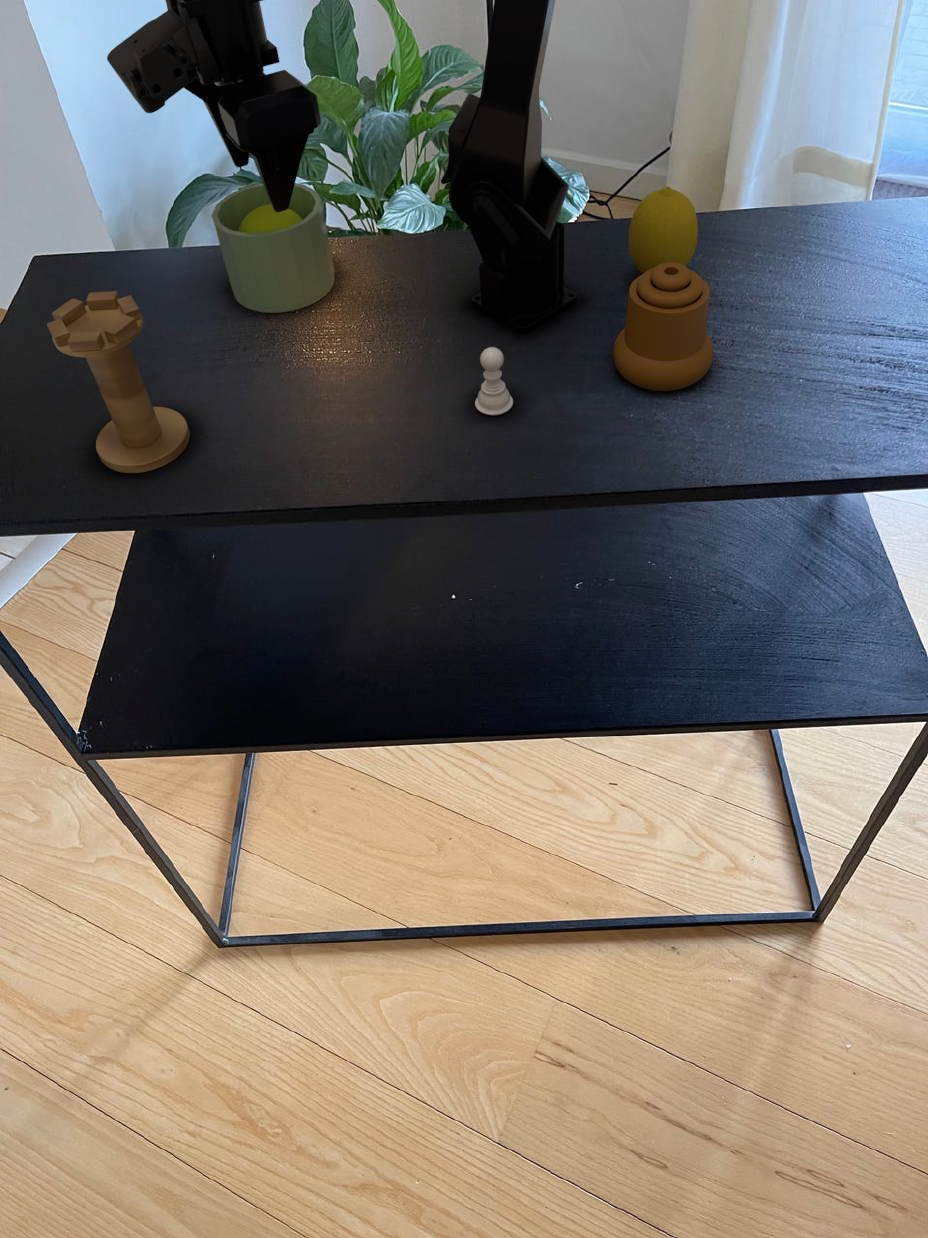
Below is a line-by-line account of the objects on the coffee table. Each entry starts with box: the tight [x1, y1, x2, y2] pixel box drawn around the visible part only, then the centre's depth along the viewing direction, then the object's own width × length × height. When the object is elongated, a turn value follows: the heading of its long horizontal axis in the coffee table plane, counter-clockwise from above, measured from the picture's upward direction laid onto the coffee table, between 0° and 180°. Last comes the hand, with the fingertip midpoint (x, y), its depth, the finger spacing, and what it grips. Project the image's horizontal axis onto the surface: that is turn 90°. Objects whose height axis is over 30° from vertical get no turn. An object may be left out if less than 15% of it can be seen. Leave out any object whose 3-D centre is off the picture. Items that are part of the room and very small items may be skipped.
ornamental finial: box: [612, 262, 715, 392], centre depth 72 cm, size 8×8×8 cm
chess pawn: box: [474, 346, 514, 416], centre depth 71 cm, size 3×3×5 cm
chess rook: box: [46, 290, 191, 474], centre depth 69 cm, size 7×7×11 cm
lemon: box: [627, 186, 699, 274], centre depth 80 cm, size 6×6×8 cm
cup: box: [211, 182, 335, 314], centre depth 84 cm, size 9×9×7 cm
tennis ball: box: [238, 205, 303, 233], centre depth 83 cm, size 6×6×6 cm
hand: (261, 187), depth 80 cm, fingers open, 9 cm apart
